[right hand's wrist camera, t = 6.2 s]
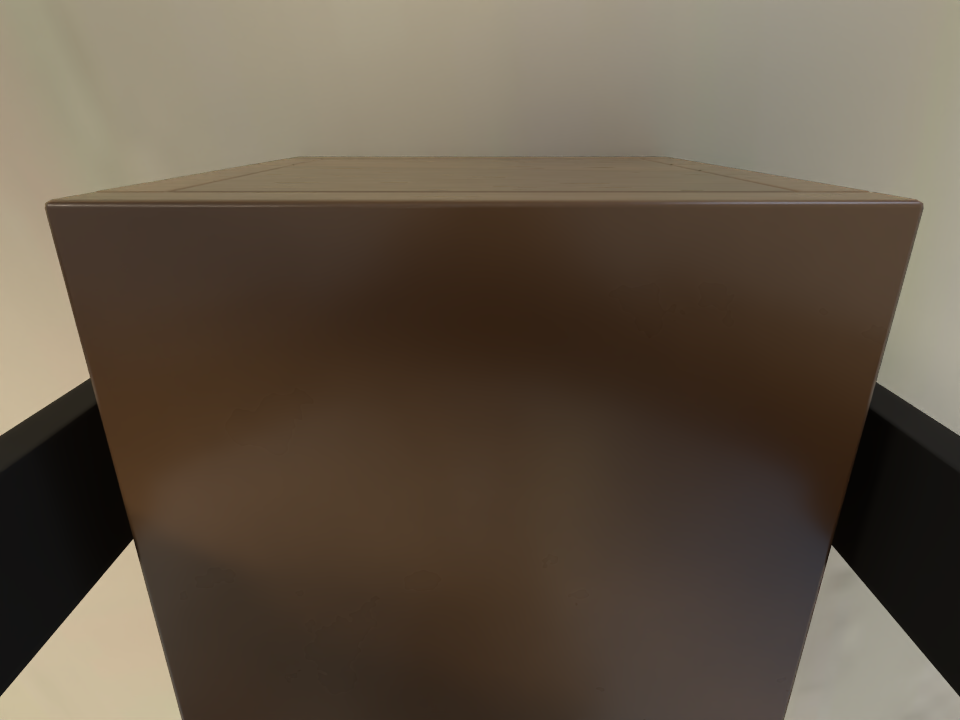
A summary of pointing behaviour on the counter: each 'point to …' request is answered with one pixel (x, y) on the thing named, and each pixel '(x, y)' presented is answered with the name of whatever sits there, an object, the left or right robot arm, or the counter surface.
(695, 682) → the cabinet
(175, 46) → the counter surface
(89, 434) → the right robot arm
